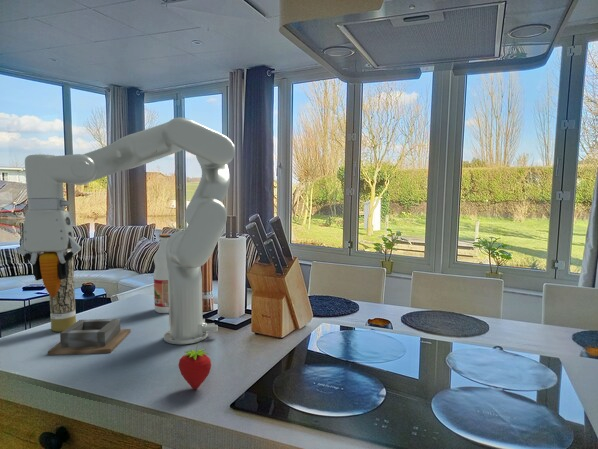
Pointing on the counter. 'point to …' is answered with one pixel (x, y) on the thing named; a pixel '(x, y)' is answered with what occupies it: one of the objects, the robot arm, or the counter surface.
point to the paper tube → (64, 303)
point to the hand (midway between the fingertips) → (51, 278)
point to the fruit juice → (161, 276)
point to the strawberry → (195, 367)
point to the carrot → (50, 272)
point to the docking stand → (90, 337)
